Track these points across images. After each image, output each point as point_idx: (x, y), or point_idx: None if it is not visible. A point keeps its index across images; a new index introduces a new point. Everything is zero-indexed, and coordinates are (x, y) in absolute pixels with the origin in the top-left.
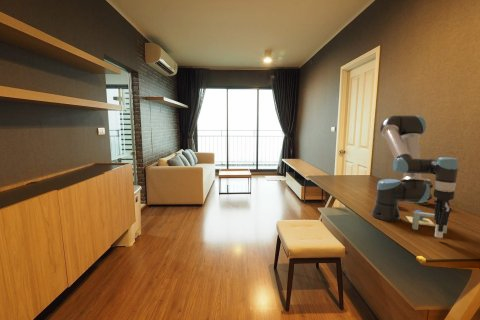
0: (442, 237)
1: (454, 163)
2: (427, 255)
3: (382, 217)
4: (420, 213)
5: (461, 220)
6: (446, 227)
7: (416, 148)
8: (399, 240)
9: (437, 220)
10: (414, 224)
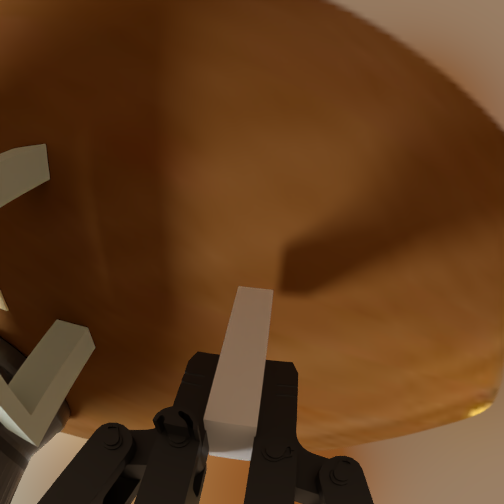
0: (272, 294)
1: None
2: (475, 396)
3: (64, 421)
4: (16, 425)
5: None
6: (2, 167)
7: None
8: (324, 448)
9: (201, 488)
10: (78, 372)
